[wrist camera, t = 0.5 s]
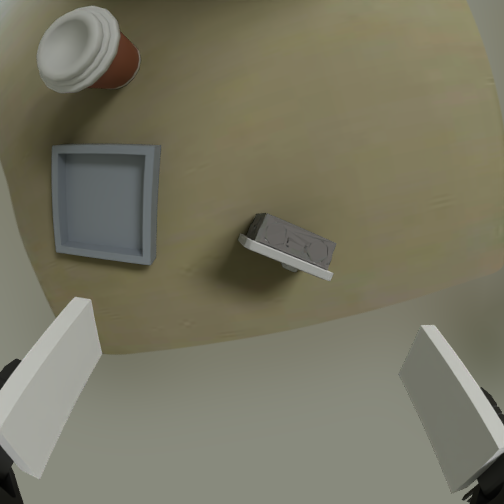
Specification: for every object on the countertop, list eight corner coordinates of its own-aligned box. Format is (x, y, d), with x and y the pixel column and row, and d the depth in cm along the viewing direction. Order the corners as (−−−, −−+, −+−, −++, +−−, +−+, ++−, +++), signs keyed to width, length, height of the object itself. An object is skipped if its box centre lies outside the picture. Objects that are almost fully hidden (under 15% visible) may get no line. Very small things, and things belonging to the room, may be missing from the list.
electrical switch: (236, 239, 37) (236, 263, 29) (253, 199, 36) (258, 212, 27) (305, 266, 39) (324, 297, 30) (323, 229, 38) (348, 251, 29)
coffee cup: (163, 37, 28) (126, 1, 17) (136, 106, 31) (87, 98, 20) (100, 28, 27) (49, 0, 16) (76, 94, 30) (16, 87, 19)
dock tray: (62, 144, 32) (52, 145, 30) (161, 145, 33) (154, 146, 31) (65, 245, 38) (56, 252, 35) (156, 257, 38) (150, 265, 36)
